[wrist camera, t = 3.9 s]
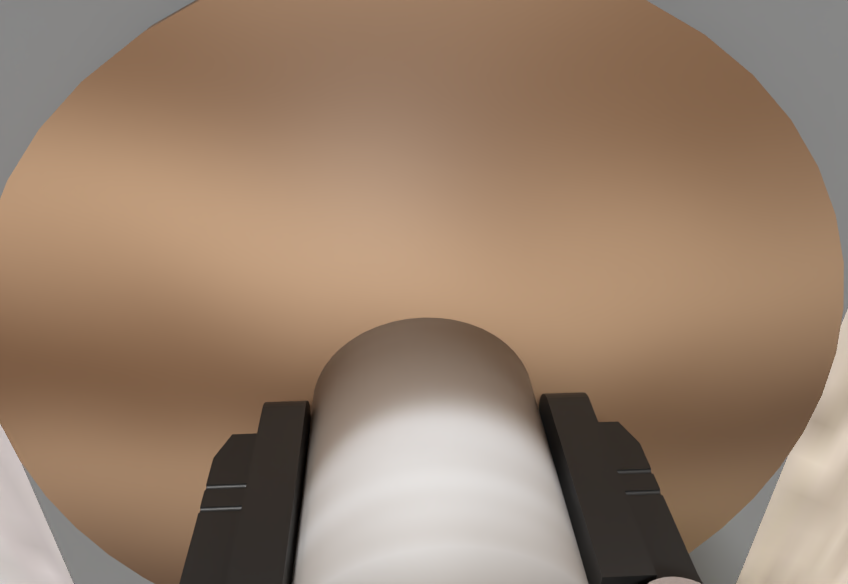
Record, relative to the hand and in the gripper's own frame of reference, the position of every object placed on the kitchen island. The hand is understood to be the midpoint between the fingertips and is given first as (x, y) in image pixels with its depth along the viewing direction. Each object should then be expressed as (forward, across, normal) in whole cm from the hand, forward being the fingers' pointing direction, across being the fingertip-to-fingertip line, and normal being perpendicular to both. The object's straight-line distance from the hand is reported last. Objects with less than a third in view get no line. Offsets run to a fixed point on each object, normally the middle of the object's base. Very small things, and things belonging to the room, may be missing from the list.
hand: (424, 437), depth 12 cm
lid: (+2, 0, 0) cm, 2 cm away
